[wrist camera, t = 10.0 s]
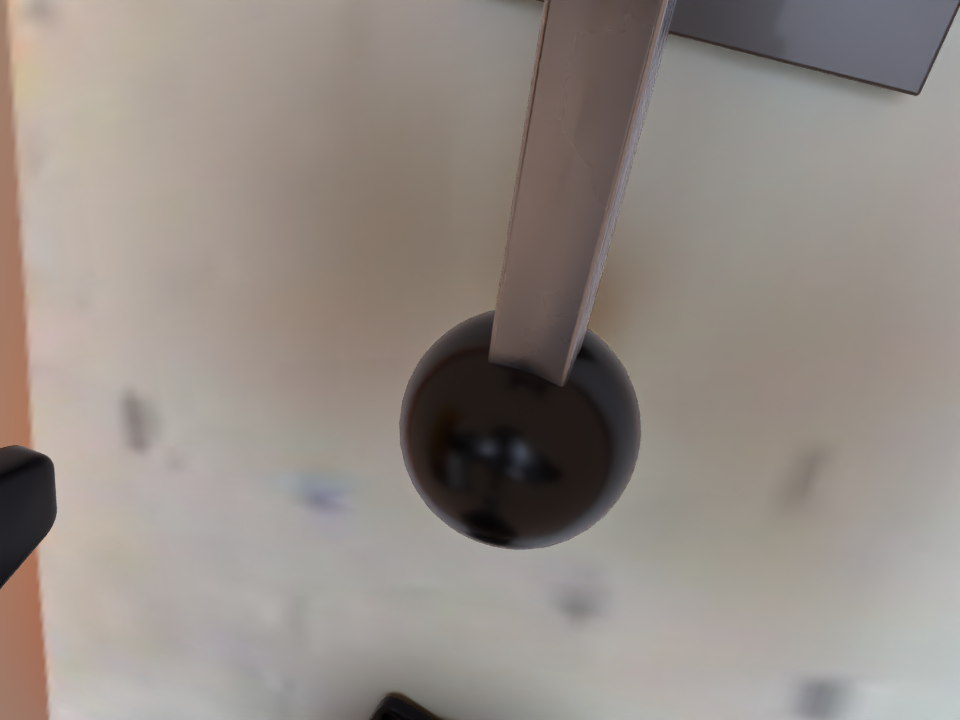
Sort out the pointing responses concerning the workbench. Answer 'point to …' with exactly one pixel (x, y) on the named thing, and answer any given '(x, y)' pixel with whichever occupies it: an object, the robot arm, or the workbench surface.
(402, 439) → the lever
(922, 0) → the bracket
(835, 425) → the workbench surface
